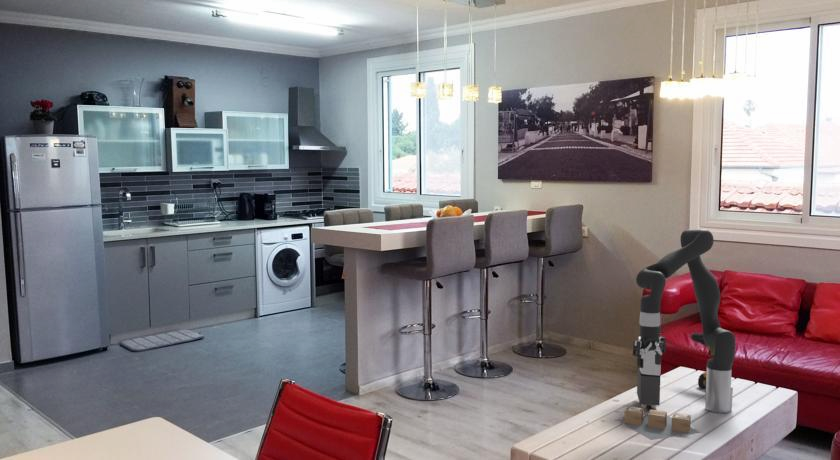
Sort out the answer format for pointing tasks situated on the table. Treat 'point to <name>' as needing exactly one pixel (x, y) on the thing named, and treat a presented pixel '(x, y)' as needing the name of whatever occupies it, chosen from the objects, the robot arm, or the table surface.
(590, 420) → the table surface
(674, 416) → the marked block 2
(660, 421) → the plain block
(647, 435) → the mat
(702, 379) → the power drill
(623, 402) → the table surface
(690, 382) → the table surface
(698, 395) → the table surface
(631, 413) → the marked block 1
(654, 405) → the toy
